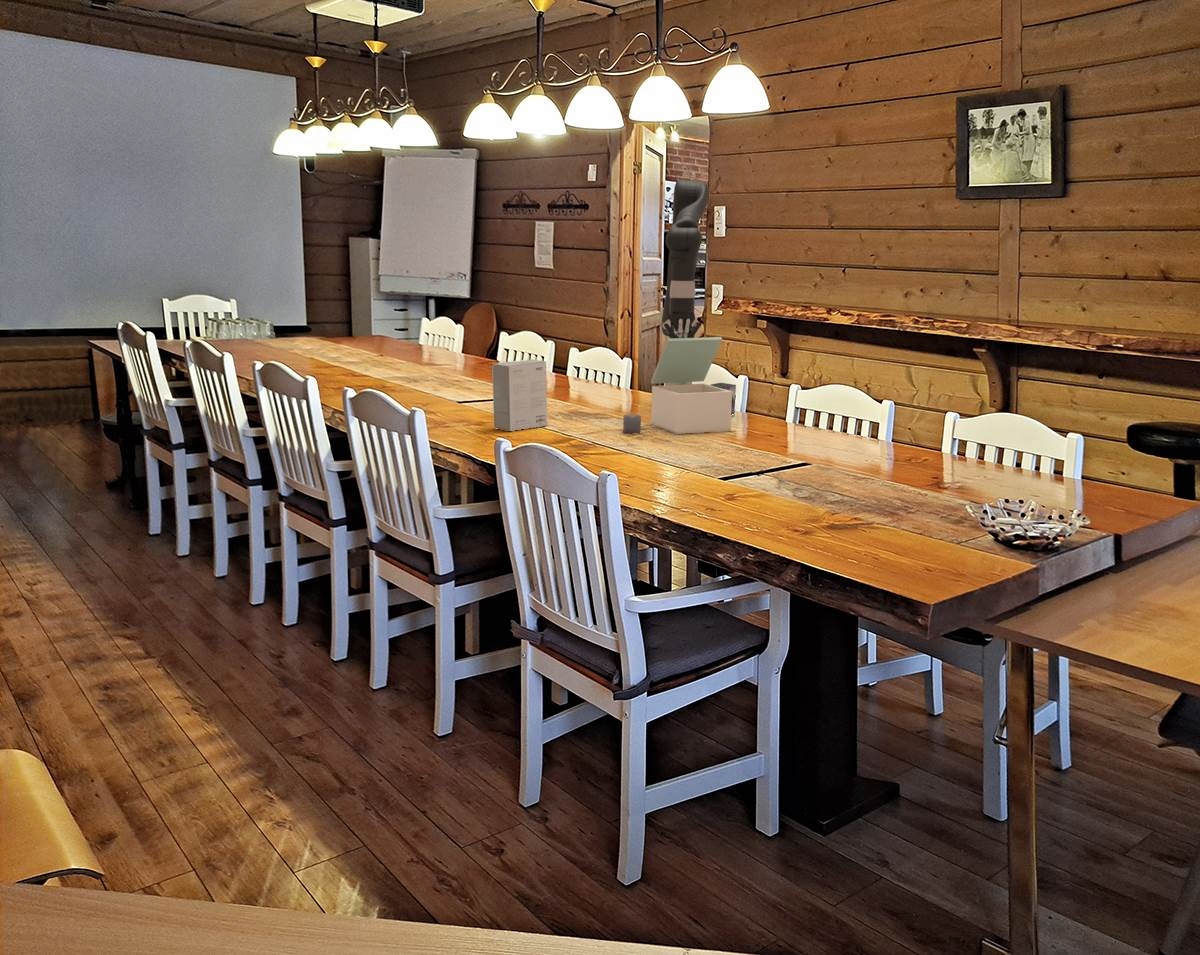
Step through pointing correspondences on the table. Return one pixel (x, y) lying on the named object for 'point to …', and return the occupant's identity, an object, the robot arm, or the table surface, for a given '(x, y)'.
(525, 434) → the table surface
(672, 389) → the storage box
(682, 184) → the robot arm
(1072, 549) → the table surface
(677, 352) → the lid
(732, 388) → the small box
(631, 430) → the dark grey cylinder
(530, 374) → the hard drive box
